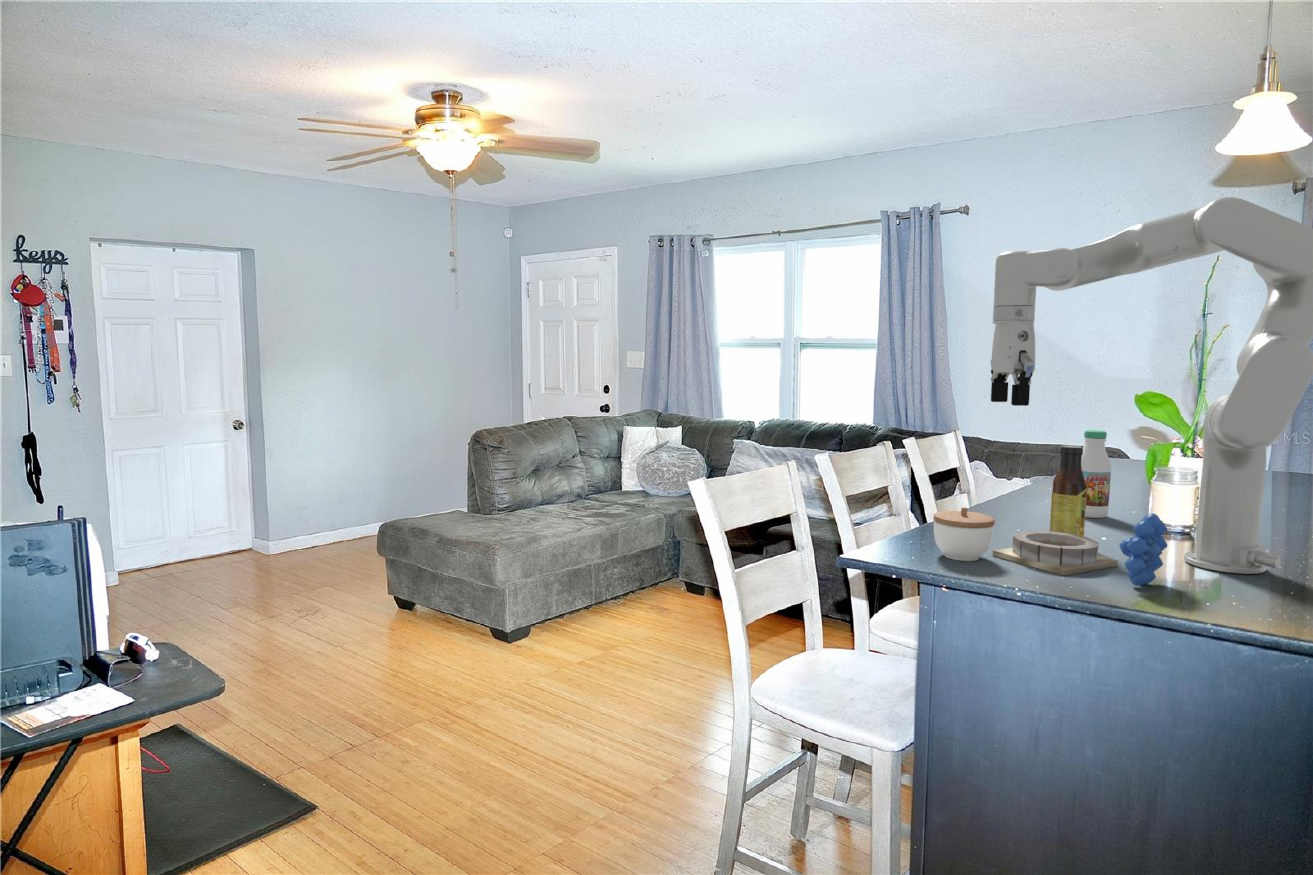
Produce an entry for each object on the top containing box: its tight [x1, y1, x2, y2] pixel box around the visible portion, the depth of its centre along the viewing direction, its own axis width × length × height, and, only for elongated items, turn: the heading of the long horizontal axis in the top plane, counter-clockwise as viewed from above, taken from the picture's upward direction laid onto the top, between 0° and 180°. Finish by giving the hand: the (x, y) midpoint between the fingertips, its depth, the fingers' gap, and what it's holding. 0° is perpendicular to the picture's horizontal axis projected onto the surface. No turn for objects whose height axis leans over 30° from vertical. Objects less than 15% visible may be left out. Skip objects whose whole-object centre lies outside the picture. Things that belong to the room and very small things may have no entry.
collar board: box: [992, 530, 1119, 577], centre depth 158 cm, size 15×15×4 cm
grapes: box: [1119, 513, 1168, 587], centre depth 143 cm, size 12×7×12 cm, turn 130°
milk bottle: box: [1081, 429, 1112, 519], centre depth 199 cm, size 8×8×20 cm
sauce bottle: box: [1049, 445, 1087, 537], centre depth 169 cm, size 7×6×20 cm
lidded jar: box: [933, 506, 996, 562], centre depth 159 cm, size 11×11×9 cm
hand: (1009, 403), depth 168 cm, fingers open, 9 cm apart
